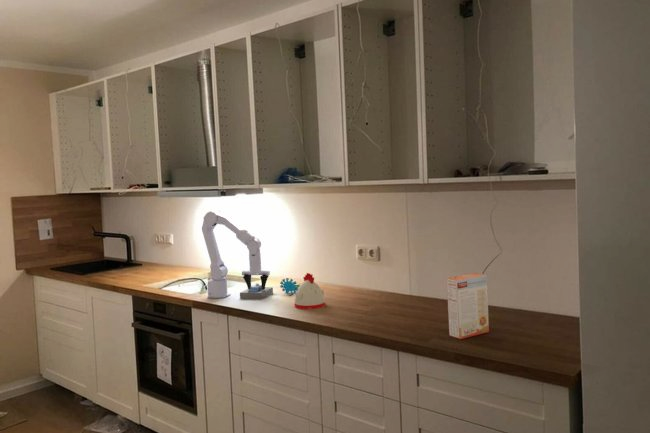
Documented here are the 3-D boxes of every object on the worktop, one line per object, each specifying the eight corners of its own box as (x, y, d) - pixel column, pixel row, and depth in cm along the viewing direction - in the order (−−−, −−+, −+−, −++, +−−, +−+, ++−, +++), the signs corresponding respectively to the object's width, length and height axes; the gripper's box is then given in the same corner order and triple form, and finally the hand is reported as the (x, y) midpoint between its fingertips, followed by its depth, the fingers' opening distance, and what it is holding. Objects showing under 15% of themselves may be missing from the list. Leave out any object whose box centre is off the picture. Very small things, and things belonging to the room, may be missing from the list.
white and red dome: (304, 310, 229) (303, 277, 228) (289, 305, 240) (287, 273, 239) (330, 305, 236) (329, 273, 236) (314, 300, 248) (313, 269, 247)
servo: (248, 297, 260) (248, 286, 260) (257, 293, 270) (256, 282, 269) (256, 298, 259) (255, 286, 258) (264, 293, 268) (263, 282, 268)
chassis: (240, 298, 259) (239, 292, 259) (251, 292, 273) (251, 287, 273) (262, 299, 256) (261, 293, 256) (273, 293, 269) (272, 287, 269)
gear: (283, 293, 260) (278, 277, 267) (279, 299, 264) (275, 284, 270) (303, 293, 266) (298, 277, 272) (299, 299, 269) (294, 284, 276)
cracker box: (477, 329, 190) (475, 272, 188) (489, 332, 184) (488, 274, 183) (447, 335, 183) (446, 277, 182) (459, 339, 178) (458, 279, 176)
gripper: (238, 263, 261) (240, 290, 262) (265, 264, 257) (266, 291, 258) (244, 261, 268) (246, 287, 269) (270, 261, 264) (272, 288, 265)
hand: (256, 289), depth 264 cm, fingers open, 7 cm apart
